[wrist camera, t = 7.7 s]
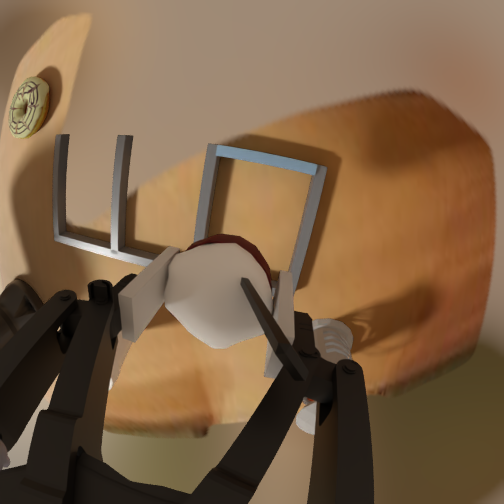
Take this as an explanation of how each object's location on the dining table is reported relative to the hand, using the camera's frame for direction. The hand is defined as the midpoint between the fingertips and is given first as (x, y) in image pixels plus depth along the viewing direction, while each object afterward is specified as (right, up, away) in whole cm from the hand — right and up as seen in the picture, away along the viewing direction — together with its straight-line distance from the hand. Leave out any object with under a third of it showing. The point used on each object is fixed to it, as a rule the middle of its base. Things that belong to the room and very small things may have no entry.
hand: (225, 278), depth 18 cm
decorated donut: (-35, +26, +12) cm, 45 cm away
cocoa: (0, +1, +2) cm, 2 cm away
